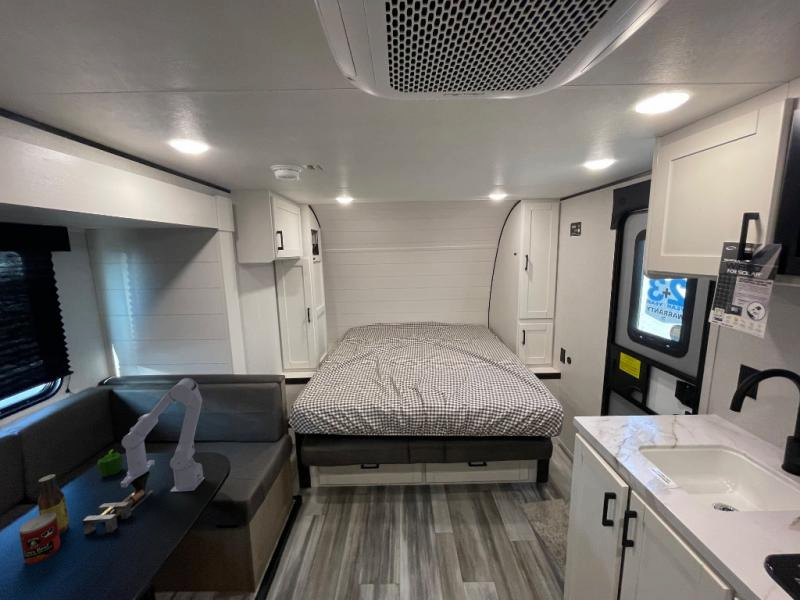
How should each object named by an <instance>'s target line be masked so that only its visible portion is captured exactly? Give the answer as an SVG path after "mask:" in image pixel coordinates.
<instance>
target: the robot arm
mask: <svg viewBox="0 0 800 600" xmlns="http://www.w3.org/2000/svg"><path fill="white" fill-rule="evenodd" d="M175 402H178V403H181V404H184V405H185V406H186V410H185V415H184V419H183V422H182V427H181V432H180V436H179V439H178V445H177V446H176V449H175V452H174V455H173V457H172V458H171V459H170V461H169V466H170V468H171V469H172V470H173V478H174V486H173V487H172V488H171V489H170V493H176V492H190V491H191V492H192V491H195V490H196V489H197V487H198V486H199V485H200V484H201V483H202V482H203V481H204V479H205V477H204V472H203V465H202V464H201V462H200V463H199V462H196V461H195V459H194V457H193V456H194V454H195V452H196V449H195V441H194V439H195V435H196V430H197V425H198V421H199V417H200V413H201V409H202V404H203V397H202V394H201V392H200V389H199V385H198V383H197V382H196V381H195V380H194V379H193V378H190V377H185V378H182V379H180V380H179V382H178V383H177V384H175V385H174V386H172V388H171V389H170V390H169V391H167V392H166V393H165V394H164V395H163V396H162V397H161V399H160V400H159V401H158V402H157V404H155V406H154V408H153V409H152V410H151V411H150V412H148V413H145V414H143V415H140V417H138V419H137V422H136V424H134V425H133V426H132V427H130V429H129V433H127V434H126V435H124V436H123V438H122V439H121V446H122V447H123V448H124V449H125V453H126V462H127V467H128V468H127V470H128V471H127V472H126V476H125V477H124V479H123V480H122V481H121V482H120V488H128V487H129V485H131V486H133V488H134V490H135V491H136V490H137V489H142V490H143V491H144V493H145V492H146V487H147V482H148V478H149V476H150V475H151V472H150V471H149V469H150V468H151V467H153V466H155V459H150V460H148V461H147V453H146V446H145V439H146V437H147V435H148V434H149V433H150V432H151V431H152V429H154V427H155V426H156V425H157V424H158V422H159V416H160V415H161V414H162V412H163V411H164V410H165V409H166V408H167V407H168V405H170V404H171V403H175Z"/></svg>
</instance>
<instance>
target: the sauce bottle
mask: <svg viewBox="0 0 800 600" xmlns="http://www.w3.org/2000/svg"><path fill="white" fill-rule="evenodd" d="M38 485H39V488H40V496H39V497H38V499H37V505H38V514H39V515H38V516H40V515H42V514H46V513H51V512H52V513H55V514H56V517H57V523H58V530H59V535H61V534H63V533H64V532H66V531H67V530H68V529H69V527H70V523H69V522H70V520H69V514H68V507H67V502H66V498H65V493H64V492H63V491H62V490H61V489H60V487H59V486H58V483H57V476H56V474H53V473H52V474H48V475H46V476H44V477H42V478H39V479H38Z"/></svg>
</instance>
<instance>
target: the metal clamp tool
mask: <svg viewBox="0 0 800 600" xmlns="http://www.w3.org/2000/svg"><path fill="white" fill-rule="evenodd" d="M134 492H135V491H133V492H132V493H130V495H132V494H133V493H134ZM153 493H154V490H153V489H152V490H150V491H148V492H147V493H146V495H145V494H144V495H143V496H142V497H141V498H140V499H139V500H138V501H137V502H136V503H135V504H134V505H132V506H130V502H123V501H125V500H126V499H127V498H128V497H129V496H130V495H129V496H127V497H126V498H125V499H124V500H123V501H121V502H108V503H103V504H101V505H99V507H98V515H88V516H86V517H85V518H84V519H83V520H82V526H83V527H82V528H83V532H84V535H91V534H92V533H94V531H95V530H96V529H97V527H96V523H105V530H106V533H108V534H109V532H110V533H113V532H115V531H116V530H117V529H118V528H117V527H118V522H117V520H118V519H117V516H116V514H114V509H120V512H121V516H120V519H121V520H124V519H125V520H127V519H128V518H130V517H131V516H132V514H133V512H134V511H135V510H136V509H137V508H138V507H139V506H140V505H141V504H142V503H143V502H145V500H146V499H148V498H149V497H150V496H151V495H152V494H153ZM129 516H130V517H129ZM116 528H117V529H116ZM115 529H116V530H115ZM114 530H115V531H114Z"/></svg>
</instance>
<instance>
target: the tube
mask: <svg viewBox="0 0 800 600" xmlns="http://www.w3.org/2000/svg"><path fill="white" fill-rule="evenodd" d="M133 492H134V493H133ZM133 492H132V493H133V494H132V493H131V494H132V495H131V494H129V497H128V496H127V497H128V498H127V497H126V498H127V499H126V498H125V499H126V500H125V499H124V500H125V501H124V500H123V501H122V502H130V506H131V507H133V506H134V505H135V504H137V503H138V502H139V501H140V500H141V499H142V498H143V497H144V496H145V492H144V491H143V490H142V489H137V490H135V491H133ZM113 514H116V517H121V512H120V509H114V513H113Z"/></svg>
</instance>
